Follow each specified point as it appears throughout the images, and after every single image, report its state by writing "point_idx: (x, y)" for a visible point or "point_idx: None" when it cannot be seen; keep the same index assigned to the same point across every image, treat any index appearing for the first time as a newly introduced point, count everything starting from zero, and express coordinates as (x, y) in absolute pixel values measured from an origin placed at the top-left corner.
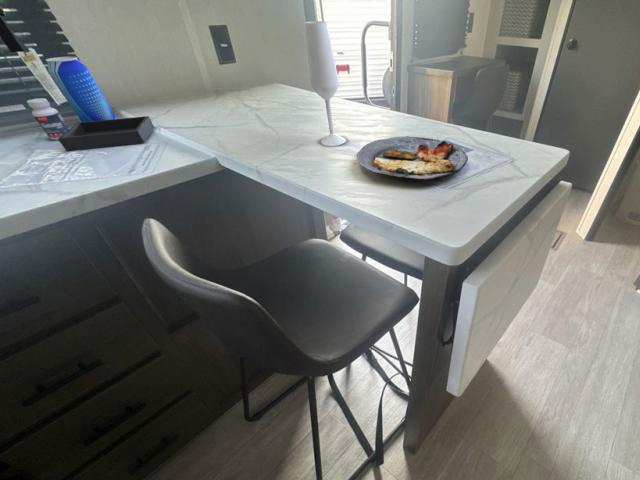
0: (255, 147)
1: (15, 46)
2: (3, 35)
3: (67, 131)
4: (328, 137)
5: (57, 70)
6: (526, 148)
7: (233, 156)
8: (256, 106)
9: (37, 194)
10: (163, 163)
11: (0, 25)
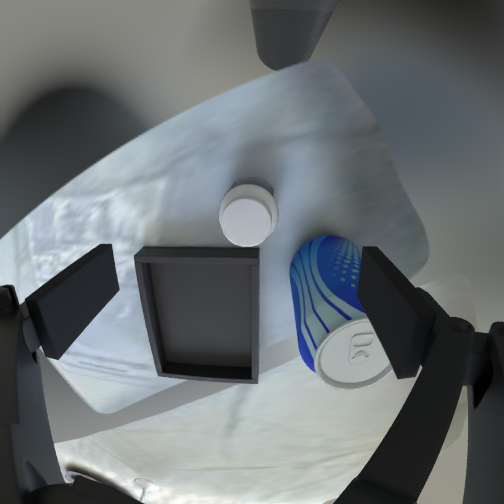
0: (133, 449)
1: (364, 287)
2: (381, 291)
3: (181, 259)
4: (142, 485)
5: (303, 335)
6: None
7: (108, 431)
8: (323, 465)
9: (12, 265)
10: (86, 380)
11: (393, 331)
